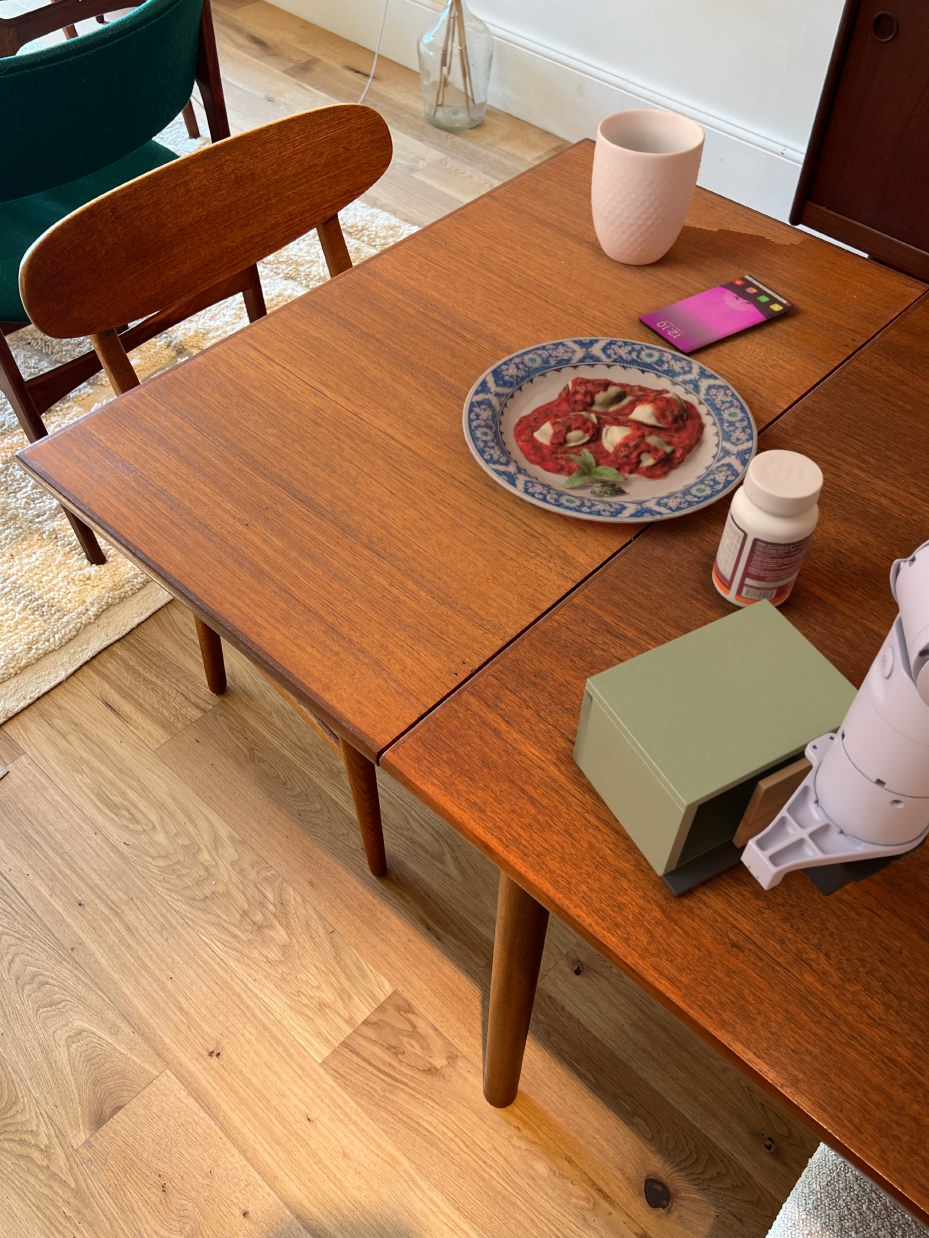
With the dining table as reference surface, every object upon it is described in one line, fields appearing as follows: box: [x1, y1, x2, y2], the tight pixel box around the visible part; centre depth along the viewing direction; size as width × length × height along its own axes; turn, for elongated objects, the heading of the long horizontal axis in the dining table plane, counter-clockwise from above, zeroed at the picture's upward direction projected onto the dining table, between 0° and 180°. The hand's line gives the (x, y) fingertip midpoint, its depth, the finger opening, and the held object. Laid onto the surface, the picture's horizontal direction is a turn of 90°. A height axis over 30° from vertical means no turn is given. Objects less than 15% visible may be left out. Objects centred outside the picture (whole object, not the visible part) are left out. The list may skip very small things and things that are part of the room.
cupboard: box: [572, 599, 859, 898], centre depth 63 cm, size 11×14×9 cm
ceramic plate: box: [461, 336, 758, 524], centre depth 88 cm, size 26×26×3 cm
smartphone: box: [638, 274, 795, 355], centre depth 102 cm, size 7×15×1 cm, turn 122°
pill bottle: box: [712, 449, 824, 609], centre depth 73 cm, size 6×6×11 cm
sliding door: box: [732, 757, 813, 848], centre depth 59 cm, size 6×7×7 cm
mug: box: [590, 108, 706, 266], centre depth 107 cm, size 15×11×13 cm
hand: (821, 877), depth 57 cm, fingers closed
